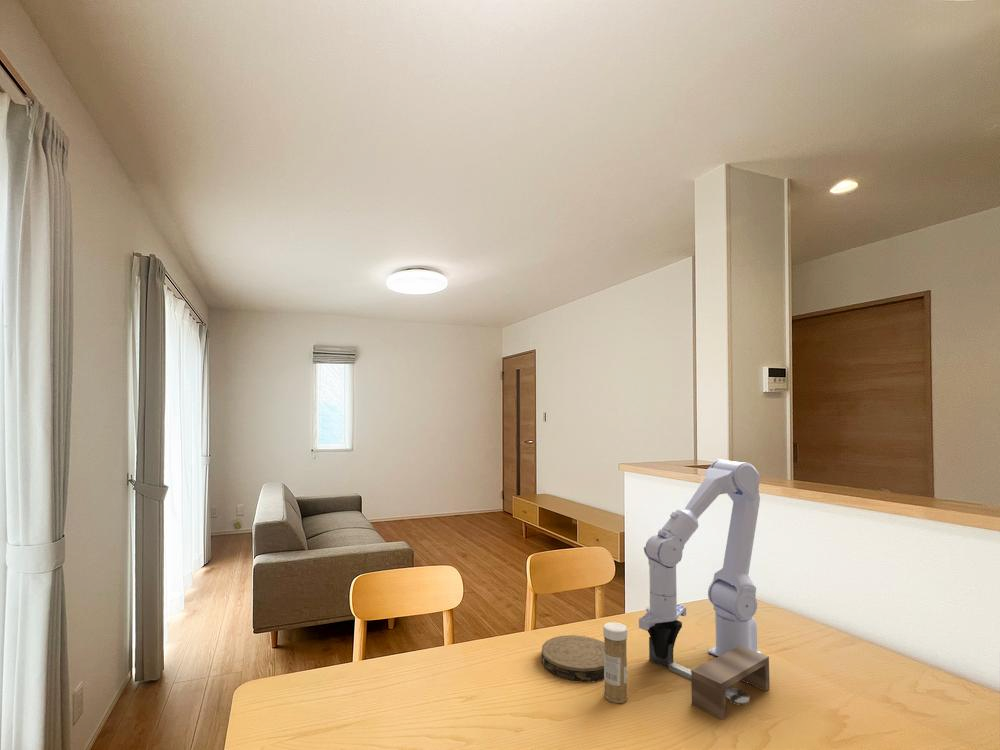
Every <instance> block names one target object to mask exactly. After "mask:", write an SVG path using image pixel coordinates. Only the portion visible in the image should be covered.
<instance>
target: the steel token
mask: <svg viewBox="0 0 1000 750" xmlns="http://www.w3.org/2000/svg"><path fill="white" fill-rule="evenodd" d="M726 699H727V700H728V701H727V700H726V701H727V702H729V701H730V702H729V703H731V702H732V703H731V704H733V703H735V704H734V705H736V704H740V705H739V706H746V705H745V704H747V705H749V704H750V695H749V694H748V693H747V692H745V691H744V690H742V689H739V688H734V687H733V688H729V689H726ZM748 703H749V704H748Z"/></svg>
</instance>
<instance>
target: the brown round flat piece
mask: <svg viewBox="0 0 1000 750" xmlns="http://www.w3.org/2000/svg"><path fill="white" fill-rule="evenodd" d="M541 665H542V666H543V668H544V670H546V671H547V672H548V673H549V674H550V675H553V676H554V677H556V678H558V679H561V680H566V681H570V682H576V683H593V682H592V681H595V682H599V681H603V680H605V679H604V641H601V640H600V639H596V638H594V637H589V636H585V635H575V634H572V635H571V634H570V635H569V634H568V635H560V636H559V635H558V636H555V637H552V638H549V639H548V640H546V641H545V642H544V643H543V644H542V646H541ZM602 679H603V680H602ZM598 680H599V681H598Z"/></svg>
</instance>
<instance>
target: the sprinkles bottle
mask: <svg viewBox="0 0 1000 750" xmlns="http://www.w3.org/2000/svg"><path fill="white" fill-rule="evenodd" d="M602 630H603V632H602V633H603V638H604V640H603V642H604V679H603V680H604V692H603V696H604V698H605V699H606V700H607V701H608V702H609V703H610V702H611V703H613V704H623V703H625V702H626V701H627V700H628V698H629V696H628V695H629V694H628V660H627V659H628V656H627V652H628V651H627V640H628V639H627V638H628V627H627V626H626V625H625V624H623V623H620V622H617V621H616V622H615V621H613V622H612V621H611V622H609V621H608V622H606V623H605V624H603V629H602Z"/></svg>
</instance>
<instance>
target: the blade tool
mask: <svg viewBox="0 0 1000 750" xmlns="http://www.w3.org/2000/svg"><path fill="white" fill-rule="evenodd" d="M648 645H649V647H648V653H649V654H648V655H649V656H648V660H649V661H650V660H651V661H650V662H652V661H653V662H652V663H654V662H655V663H654V664H656V663H657V665H659V666H661V667H663V668H665V669H668V670H669V671H672V672H673V673H675V674H678V675H680V676H682V677H684V678H686V679H688V680H690V681H691V670H692V669H690V668H687V667H685V666H683V665H681V664H679V663H677V662H675V660H674V648H673V643H672V642H670V641H667V650H666V657H665V659H661V658H659V657H657V656H656V655H655V651H654V647H653V643H652V640H651V637H650V636H649V637H648ZM729 688H734V687H733V684H732V685H730V686H728V687H727V688H726V689H729Z"/></svg>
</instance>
